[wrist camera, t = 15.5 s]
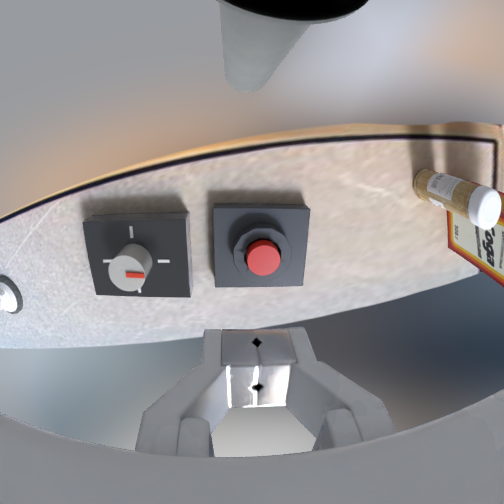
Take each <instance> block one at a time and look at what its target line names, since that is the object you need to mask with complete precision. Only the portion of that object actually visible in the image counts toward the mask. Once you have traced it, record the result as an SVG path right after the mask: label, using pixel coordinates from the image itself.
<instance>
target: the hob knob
mask: <svg viewBox="0 0 504 504" xmlns="http://www.w3.org/2000/svg"><path fill="white" fill-rule="evenodd" d="M151 268H152V258H151V255H150V253H149V252H148V251H147V250H146V249H145V248H144V247H143V246H141V245H138V244H128V245H125V246H124V247H123V248H122V249H121V250H120V251H119V252H118V253H117V255H116V256H115V257H114V258H113V260H112V261H111V262H110V264H109V269H108V271H109V276H110V279H111V281H112V282H113V283H114V284H115V285H116V286H117V287H118V288H120V289H122V290H124V291H135V290H138V289H139V288H141V287H142V285H143V284H144V282H145V280H146V278H147V276H148V274H149V272H150V270H151Z"/></svg>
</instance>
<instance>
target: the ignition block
mask: <svg viewBox="0 0 504 504" xmlns="http://www.w3.org/2000/svg"><path fill="white" fill-rule="evenodd" d="M309 217H310V209H309V208H308V207H307V206H306V205H300V204H214V207H213V234H214V273H215V287H283V286H303V278H304V269H305V259H306V250H307V239H308V229H309ZM257 240H268V241H271V242H272V243H274V244H275V246H276V247H277V249H278V252H279V254H280V265H279V267H278V268H277V270H276V271H275V272H273V273H272V274H269V275H265V276H261V275H257V274H255V273H253V272H252V271H251V270H250V269H249V267H248V264H247V257H246V253H247V249H248V247H249V246H250V245H251V244H252V243H253V242H255V241H257Z"/></svg>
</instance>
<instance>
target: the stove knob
mask: <svg viewBox="0 0 504 504" xmlns="http://www.w3.org/2000/svg"><path fill="white" fill-rule="evenodd" d="M22 306H23V300H22V296H21V294H20V291H19V290H18V288H17V286H16V285H15V284H14V283H13V282H12V281H11V280H10V279H9V278H7V277H5V276H0V310H1V309H4V310H5V311H7V312H10V313H12V314H15V313H18V312H19V311H21V309H22Z"/></svg>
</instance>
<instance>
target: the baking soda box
mask: <svg viewBox="0 0 504 504" xmlns="http://www.w3.org/2000/svg"><path fill="white" fill-rule="evenodd" d="M471 183H473V184H476V185H480V184H477V183H474V182H471ZM480 186H483V185H480ZM496 191H497V190H496ZM497 192H498V194H499V196H500V198H501V213H500V216H499V219H498V221H497V223H496V224H495V225H494V226H493V227H492V228H490V229H487V230H485V229H482V228H480V227H478V226H476V225H474V224H473V223H472V222H471V221H470V220H468V219H466V218H464V217H462V216H460V215H458V214H455V213H452V212H450V211H448V210H447V222H448V248H450V249H451V250H453V251H454V252H456V253H457V254H459V255H460V256H462V257H463V258H464V259H466V260H467V261H469V262H470V263H472V264H473V265H474V266H476V267H477V268H479V269H480V270H481V271H483V272H484V273H486V274H487V275H488V276H490V277H491V278H492V279H494V280H495V281H496V282H498V283H499V284H500V285H502V286H503V287H504V193H502V192H500V191H497Z"/></svg>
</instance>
